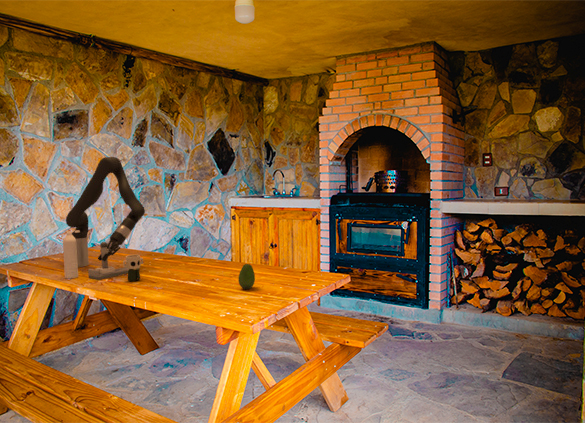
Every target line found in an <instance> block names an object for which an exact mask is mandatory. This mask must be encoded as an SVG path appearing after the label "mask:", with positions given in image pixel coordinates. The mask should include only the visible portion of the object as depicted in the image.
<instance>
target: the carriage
mask: <svg viewBox="0 0 585 423" xmlns="http://www.w3.org/2000/svg"><path fill="white" fill-rule="evenodd" d="M107 243H108V242H106V241H102V242H100V245H99V247H100V250H101V252H100V254H101V258H102V257H103V256H104V255H105V254H106V252H107V250H108V249H107ZM108 258H109V257H108ZM108 258H107V259H106V261H103V260H101V267H95V270H99V271H100V273H101V274H104V273H109V272H114V271H115V270H114V269H115V267H114V266H110V265H109V259H108Z"/></svg>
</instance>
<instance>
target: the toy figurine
mask: <svg viewBox="0 0 585 423" xmlns="http://www.w3.org/2000/svg"><path fill="white" fill-rule="evenodd" d="M142 264H144V258H143V257H141V255H140V254H128V255H125V260H123V261H122V266H123V267H126V268H128V269H129V270H128V274H127V280H128V281H131V282H133V281H140V280H141V274H140V268H141V265H142ZM123 267H122V268H123ZM138 268H139V269H138Z"/></svg>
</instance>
